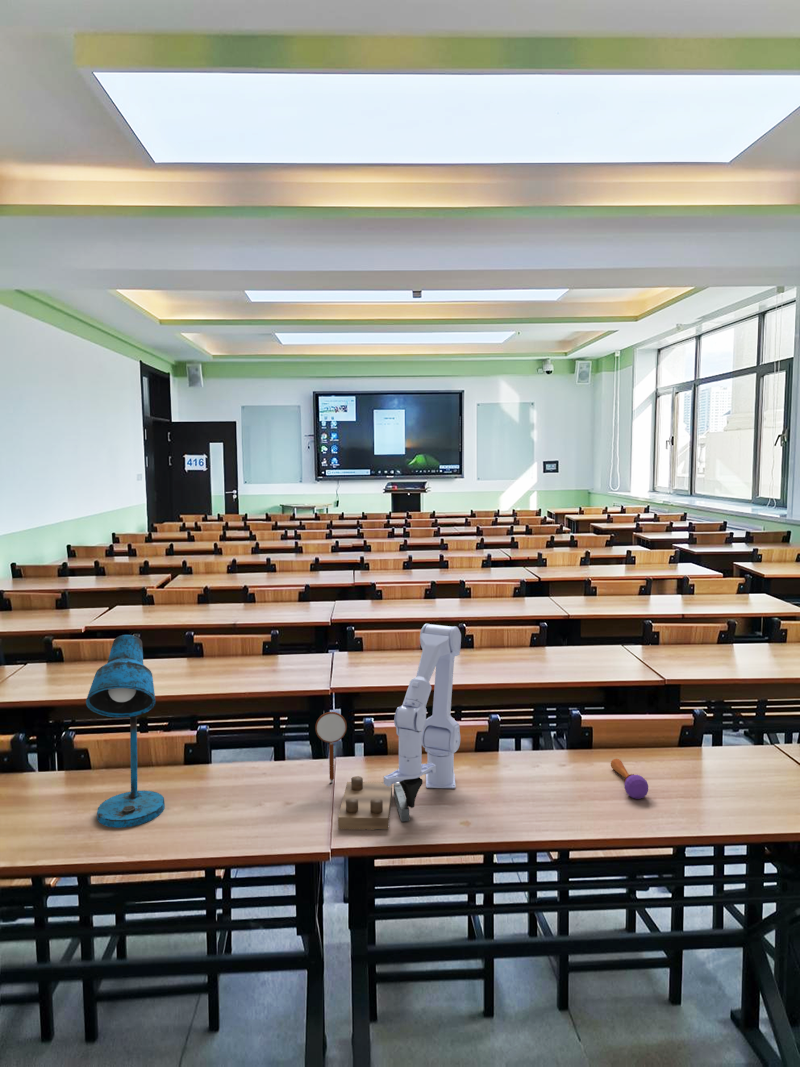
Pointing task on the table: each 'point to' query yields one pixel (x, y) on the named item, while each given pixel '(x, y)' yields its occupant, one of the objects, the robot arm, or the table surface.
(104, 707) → the desk lamp
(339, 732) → the magnifying glass
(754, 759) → the table surface
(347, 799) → the stool seat
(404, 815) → the hinged leg
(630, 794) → the purple mallet
